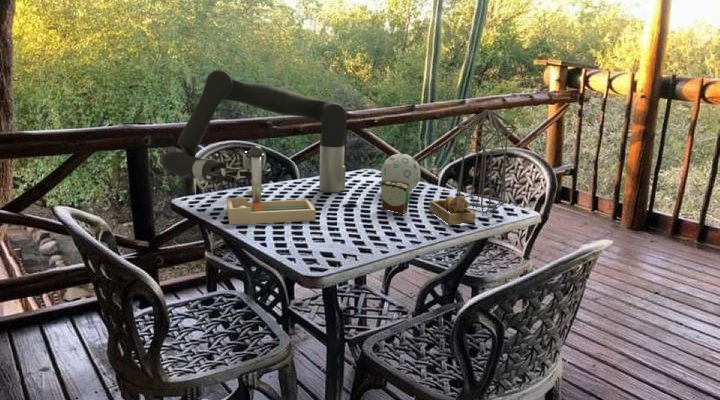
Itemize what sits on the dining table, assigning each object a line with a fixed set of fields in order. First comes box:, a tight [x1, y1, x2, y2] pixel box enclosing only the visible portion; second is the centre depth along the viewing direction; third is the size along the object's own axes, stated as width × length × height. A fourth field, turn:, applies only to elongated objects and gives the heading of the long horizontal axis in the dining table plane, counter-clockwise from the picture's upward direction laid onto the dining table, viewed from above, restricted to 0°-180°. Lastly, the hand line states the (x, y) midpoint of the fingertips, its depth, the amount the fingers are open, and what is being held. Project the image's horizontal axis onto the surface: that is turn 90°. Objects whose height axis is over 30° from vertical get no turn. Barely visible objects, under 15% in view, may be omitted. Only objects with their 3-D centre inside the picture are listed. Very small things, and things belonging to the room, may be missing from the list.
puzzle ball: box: [380, 153, 422, 190], centre depth 220 cm, size 15×15×15 cm
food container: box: [379, 179, 413, 215], centre depth 196 cm, size 12×6×10 cm, turn 47°
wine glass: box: [242, 150, 267, 196], centre depth 213 cm, size 8×8×15 cm
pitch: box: [226, 197, 316, 225], centre depth 185 cm, size 26×13×5 cm, turn 106°
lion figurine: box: [445, 195, 471, 214], centre depth 189 cm, size 15×5×9 cm, turn 19°
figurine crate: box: [428, 199, 476, 225], centre depth 190 cm, size 9×17×4 cm, turn 16°
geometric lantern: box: [455, 109, 519, 217], centre depth 192 cm, size 16×16×35 cm
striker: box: [249, 145, 264, 212], centre depth 182 cm, size 4×5×21 cm
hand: (245, 178), depth 184 cm, fingers open, 8 cm apart
